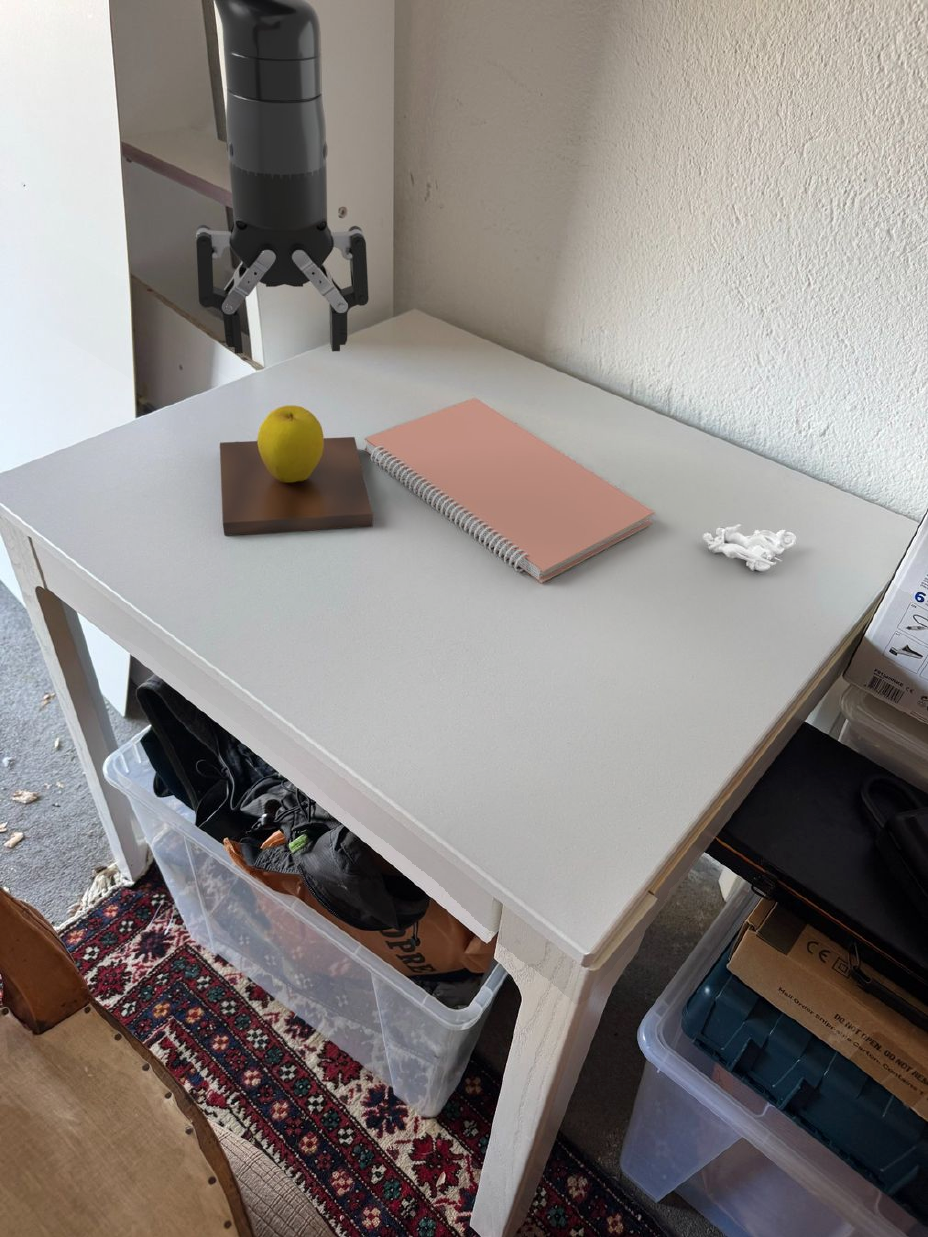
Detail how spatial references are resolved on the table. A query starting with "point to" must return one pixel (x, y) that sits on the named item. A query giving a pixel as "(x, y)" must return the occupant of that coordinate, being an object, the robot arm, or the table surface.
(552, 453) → the notebook
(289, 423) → the apple
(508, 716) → the table surface
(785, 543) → the figurine
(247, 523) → the cutting board
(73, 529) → the table surface
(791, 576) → the table surface
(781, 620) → the table surface
